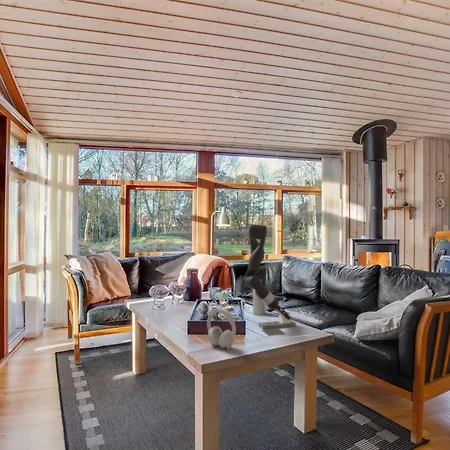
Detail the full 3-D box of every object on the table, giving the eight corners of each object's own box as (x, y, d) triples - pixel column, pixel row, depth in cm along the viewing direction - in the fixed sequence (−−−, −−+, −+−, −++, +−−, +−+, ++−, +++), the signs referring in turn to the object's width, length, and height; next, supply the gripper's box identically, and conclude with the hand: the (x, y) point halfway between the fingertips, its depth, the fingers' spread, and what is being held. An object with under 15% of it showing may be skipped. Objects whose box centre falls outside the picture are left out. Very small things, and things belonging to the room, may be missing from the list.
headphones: (202, 344, 193) (202, 306, 193) (213, 340, 199) (213, 304, 199) (229, 353, 180) (229, 313, 180) (239, 349, 186) (240, 310, 186)
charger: (279, 324, 228) (279, 310, 228) (286, 324, 229) (286, 309, 229) (282, 326, 223) (282, 312, 223) (289, 326, 224) (290, 311, 224)
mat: (261, 331, 216) (261, 330, 216) (278, 329, 219) (278, 328, 219) (268, 336, 206) (268, 335, 206) (286, 335, 209) (286, 334, 209)
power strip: (258, 326, 225) (258, 322, 225) (290, 324, 231) (290, 319, 231) (262, 330, 218) (262, 325, 218) (295, 327, 224) (295, 322, 224)
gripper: (278, 297, 217) (295, 315, 220) (268, 293, 231) (285, 309, 234) (270, 307, 215) (287, 324, 219) (261, 302, 229) (277, 318, 232)
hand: (286, 317), depth 226 cm, fingers open, 8 cm apart
